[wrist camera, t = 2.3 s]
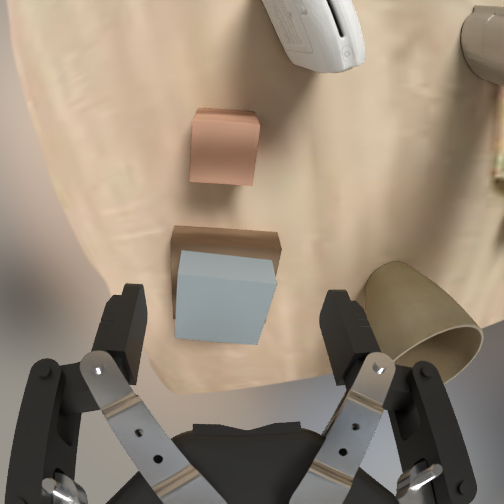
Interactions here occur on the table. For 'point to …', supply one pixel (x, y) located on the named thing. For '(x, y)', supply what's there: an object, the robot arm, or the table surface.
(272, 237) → the walnut base slab
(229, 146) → the terracotta block
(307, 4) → the photo printer
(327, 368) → the table surface
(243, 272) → the grey upper slab
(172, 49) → the table surface
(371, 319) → the plant pot
